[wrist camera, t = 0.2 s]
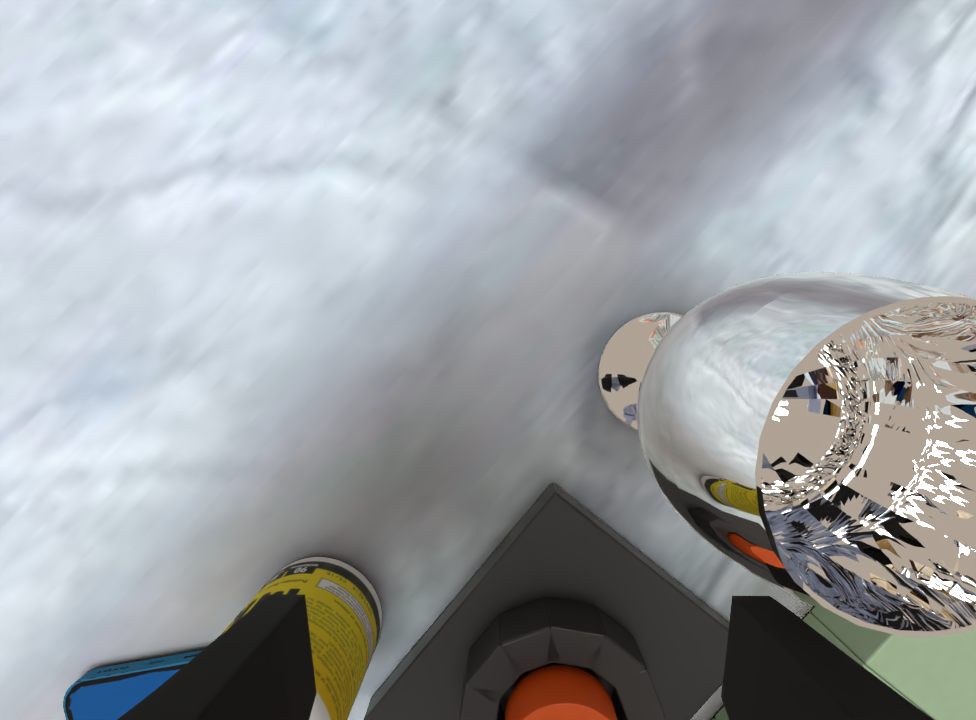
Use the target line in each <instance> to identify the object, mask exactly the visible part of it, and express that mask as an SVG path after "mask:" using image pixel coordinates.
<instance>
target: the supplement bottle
mask: <svg viewBox="0 0 976 720" xmlns="http://www.w3.org/2000/svg"><path fill="white" fill-rule="evenodd" d="M270 594H294V595H305V599H306V607H307V616H308V624H309V633H310V641H311V650H312V658H313V666H314V675H315V683H316V692H317V693H316V697H315V700H314V704H313V707H312V711H311V715H310V718H309V720H347V719H348V716H349V714H350V711H351V709H352V706H353V703H354V701H355V698H356V696H357V693H358V691H359V688H360V686H361V683H362V681H363V678H364V676H365V673H366V671H367V668H368V666H369V663H370V661H371V658H372V655H373V653H374V651H375V648H376V646H377V643H378V640H379V637H380V633H381V628H382V611H381V606H380V602H379V599H378V596H377V594H376V592H375V590H374V588H373V587H372V585H371V584H370V582H369V581H368V580H367V579H366V578H365V577H364V576H363V575H362V574H361V573H360V572H359V571H357V570H356V569H354V568H353V567H352V566H350V565H348V564H346V563H344V562H341V561H339V560H336V559H331V558H326V557H311V558H305V559H301V560H298V561H295V562H293V563H291V564H289V565H287V566H285V567H284V568H282V569H281V570H280V571H278V572H277V573H276V574H275V575H274V576H273V577H272V578H271V579H270V580H269V581H268V582H267V583H266V584H265V585H264V586H263V588H262V589H261V590H260V591H259V592H258V594H257V595H256V596H255V597H254V598H253V599H252V600H251V602H250V603H249V604H248V605H247V606H246V607H245V608H244V609H243V610H242V611H241V612H240V614H239V615H238V616H237V617H236V618H235V620H234V621H233V622H232V623H231V624H230V625H229V626H228V627H227V629H226V630H228V629H229V628H230V627H231V626H232V625H233V624H235V623H236V622H237V621H238V620H239V619H241V618H242V617H243V616H244V615H245V614H246V613H248V612H249V611H250V610H251V609H252V608H254V607H255V606H256V605H257V604H259V603H260V602H261V601H262V600H264V599H265V598H266V597H267V596H269V595H270ZM226 630H225V631H226ZM225 631H224V632H225ZM224 632H223V633H224ZM223 633H222V634H223ZM222 634H221V635H222ZM221 635H220V636H221Z"/></svg>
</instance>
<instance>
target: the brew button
mask: <svg viewBox="0 0 976 720" xmlns="http://www.w3.org/2000/svg"><path fill="white" fill-rule="evenodd" d="M505 720H617V716H616V713H615V709H614V706H613V703H612V700H611V697H610V695H609V693H608V692H607V690H606V688H605V687H604V686H603V685H602V684H601V682H600V681H599V680H597V679H596V678H595V677H594V676H592V675H591V674H590V673H588V672H586V671H584V670H582V669H579V668H576V667H572V666H567V665H552V666H546V667H543V668H539V669H537V670H535V671H533V672H531V673H529V674H528V675H526V676H525V677H524V678H523V679H522V680H521V681H520V682H519V683H518V684H517V685H516V686H515V688H514V689H513V691H512V692H511V694H510V696H509V699H508V701H507V705H506V711H505Z"/></svg>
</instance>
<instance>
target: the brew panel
mask: <svg viewBox="0 0 976 720" xmlns="http://www.w3.org/2000/svg"><path fill="white" fill-rule="evenodd" d="M728 632H729V622H728V621H726V620H725V619H724V618H723V617H721V616H720V615H719V614H718V613H716V612H715V611H714V610H713V609H711V608H710V607H709V606H708V605H706V604H705V603H704V602H702V601H701V600H700V599H699V598H697V597H696V596H695V595H694V594H692V593H691V592H690V591H689V590H687V589H686V588H685V587H684V586H682V585H681V584H680V583H679V582H677V581H676V580H675V579H674V578H672V577H671V576H670V575H669V574H667V573H666V572H665V571H664V570H662V569H661V568H660V567H659V566H657V565H656V564H655V563H654V562H652V561H651V560H650V559H649V558H647V557H646V556H645V555H644V554H642V553H641V552H640V551H638V550H637V549H636V548H635V547H633V546H632V545H631V544H630V543H628V542H627V541H626V540H625V539H623V538H622V537H621V536H620V535H618V534H617V533H616V532H615V531H613V530H612V529H611V528H610V527H608V526H607V525H606V524H605V523H603V522H602V521H601V520H600V519H598V518H597V517H596V516H595V515H593V514H592V513H591V512H590V511H588V510H587V509H586V508H585V507H583V506H582V505H581V504H580V503H578V502H577V501H576V500H575V499H573V498H572V497H571V496H569V495H568V494H567V493H566V492H564V491H563V490H562V489H561V488H559V487H558V486H557V485H556V484H554V483H552V484H550V485H549V487H548V488H547V489H546V490H545V491H544V493H543V494H542V495H541V496H540V497H539V499H538V500H537V501H536V502H535V503H534V504H533V506H532V507H531V508H530V509H529V510H528V512H527V513H526V514H525V515H524V516H523V518H522V519H521V520H520V521H519V522H518V524H517V525H516V526H515V527H514V528H513V530H512V531H511V532H510V533H509V534H508V535H507V537H506V538H505V539H504V540H503V541H502V543H501V544H500V545H499V546H498V547H497V549H496V550H495V551H494V552H493V553H492V555H491V556H490V557H489V558H488V559H487V561H486V562H485V563H484V564H483V565H482V566H481V568H480V569H479V570H478V571H477V572H476V574H475V575H474V576H473V577H472V578H471V580H470V581H469V582H468V583H467V584H466V586H465V587H464V588H463V589H462V590H461V592H460V593H459V594H458V595H457V596H456V597H455V599H454V600H453V601H452V602H451V603H450V605H449V606H448V607H447V608H446V609H445V611H444V612H443V613H442V614H441V615H440V617H439V618H438V619H437V620H436V621H435V623H434V624H433V625H432V626H431V627H430V628H429V630H428V631H427V632H426V633H425V634H424V636H423V637H422V638H421V639H420V640H419V642H418V643H417V644H416V645H415V646H414V648H413V649H412V650H411V651H410V652H409V654H408V655H407V656H406V657H405V658H404V659H403V661H402V662H401V663H400V664H399V665H398V667H397V668H396V669H395V670H394V671H393V673H392V674H391V675H390V676H389V677H388V679H387V680H386V681H385V682H384V683H383V685H382V686H381V687H380V688H379V689H378V690H377V692H376V693H375V694H374V695H373V696H372V698H371V700H370V703H369V706H368V709H367V712H366V715H365V718H364V720H505V711H506V705H507V701H508V699H509V696H510V694H511V692H512V691H513V689H514V688H515V686H516V685H517V684H518V683H519V682H520V681H521V680H522V679H523V678H524V677H525V676H526V675H528V674H529V673H531V672H533V671H535V670H537V669H539V668H543V667H546V666H552V665H567V666H572V667H576V668H579V669H582V670H584V671H586V672H588V673H590V674H591V675H592V676H594V677H595V678H596V679H597V680H599V681H600V682H601V684H602V685H603V686H604V687H605V688H606V690H607V692H608V693H609V695H610V697H611V700H612V703H613V706H614V709H615V713H616V716H617V720H690V719H691V718H692V716H693V715H694V714H695V713H696V712H697V711H698V710H699V709H700V708H701V707H702V705H703V704H704V703H705V702H706V701H707V700H708V699H709V698H710V697H711V696H712V694H713V693H714V692H715V691H716V690H717V689H718V688H719V687H720V686H721V685H722V683H723V677H724V668H725V659H726V650H727V641H728Z"/></svg>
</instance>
